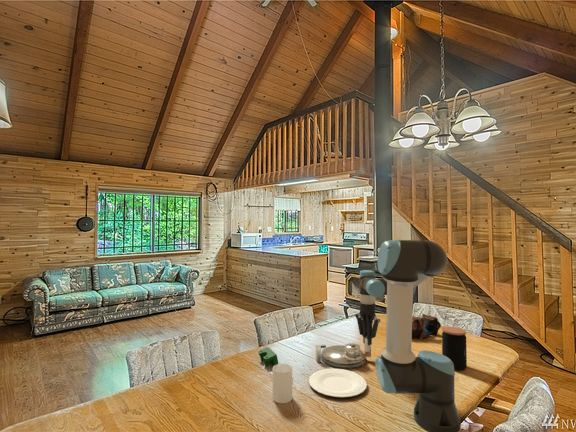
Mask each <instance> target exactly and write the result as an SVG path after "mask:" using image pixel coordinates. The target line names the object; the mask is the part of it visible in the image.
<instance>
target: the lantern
mask: <svg viewBox="0 0 576 432" xmlns="http://www.w3.org/2000/svg"><path fill="white" fill-rule="evenodd" d="M441 327H442V326H441V322H440V320H439V319H438V317H436V316H432V315H427V314H424V313H423V314H422V317H420V316H413V315H412V337H415V338H417V339H420V340H424V339H425V338H428V339H430V337H429V336H431V335H434V336H438V334H439V330H440V328H441Z"/></svg>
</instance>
